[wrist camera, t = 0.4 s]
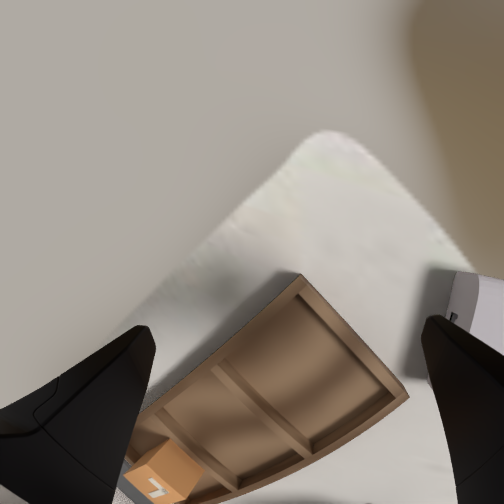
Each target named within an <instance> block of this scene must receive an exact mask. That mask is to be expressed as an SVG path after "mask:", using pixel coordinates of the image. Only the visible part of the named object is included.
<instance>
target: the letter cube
mask: <svg viewBox="0 0 504 504" xmlns="http://www.w3.org/2000/svg"><path fill="white" fill-rule="evenodd" d="M204 471H205V470H204V469H203V468H202V467H201V466H199V465H198V464H197V463H196V462H195V461H194V460H193V459H192V458H190V457H189V456H188V455H187V454H186V453H185V452H184V451H183V450H182V449H181V448H180V447H179V446H178V445H177V444H176V443H175V442H174V441H172V440H171V439H168V440H166V441H165V442H163V443H161V444H160V445H158V446H156V447H154V448H153V449H151V450H149V451H147V452H146V453H145V454H144V455H143V456H142V457H141V458H140V459H139V460H138V461H137V462H136V463H135V464H134V465H133V466H132V467H131V468H130V469H129V470H128V471H127V472H125V473H124V474H123V476H124V477H125V478H126V479H127V480H128V481H129V482H130V483H132V484H133V485H134V486H135V487H136V488H137V489H138V490H139V491H140V492H141V493H143V494H144V495H145V496H146V497H147V498H148V499H149V500H151V501H152V502H153V503H154V504H172V503H175V502H179V501H182V500H185V499H186V498H187V497H188V496H189V494H190V493H191V491H192V490H193V488H194V487H195V485H196V484H197V482H198V481H199V479H200V477H201V476H202V474H203V473H204Z"/></svg>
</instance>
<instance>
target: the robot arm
mask: <svg viewBox="0 0 504 504" xmlns="http://www.w3.org/2000/svg"><path fill="white" fill-rule="evenodd" d="M421 342H422V347H423V351H424V355H425V359H426V364H427V369H428V373H429V378H430V382H431V385H432V388H433V392H434V395H435V398H436V402H437V405H438V408H439V412H440V416H441V419H442V423H443V427H444V431H445V435H446V439H447V444H448V448H449V453H450V457H451V462H452V468H453V473H454V479H455V485H456V486H457V487H456V493H457V500H458V504H504V355H502V354H501V353H499V352H498V351H496V350H495V349H493V348H492V347H490V346H489V345H487V344H486V343H484V342H483V341H481V340H479V339H478V338H476V337H475V336H473V335H472V334H470V333H469V332H467V331H465V330H464V329H462V328H461V327H459V326H457V325H456V324H454V323H453V322H451V321H449V320H448V319H446V318H445V317H443V316H441V315H440V314H435V315H429V316H428V317H427V319H426V322H425V325H424V328H423V332H422V335H421ZM155 352H156V345H155V342H154V339H153V336H152V334H151V331H150V329H149V327H148V326H142V325H137V326H135V327H133V328H131V329H130V330H128V331H127V332H125V333H124V334H122V335H121V336H119V337H118V338H116V339H115V340H113V341H112V342H110V343H109V344H107V345H105V346H104V347H102V348H101V349H99V350H98V351H96V352H95V353H93V354H92V355H90V356H89V357H87V358H86V359H84V360H83V361H81V362H80V363H78V364H76V365H75V366H73V367H72V368H70V369H69V370H67V371H66V372H64V373H63V374H61V375H60V377H57V378H55V379H53V380H52V381H51V382H49V383H47V384H46V385H44V386H43V387H41V388H39V389H37V390H36V391H34V392H32V393H30V394H29V395H27V396H25V397H23V398H21V399H19V400H17V401H16V402H14V403H12V404H10V405H8V406H6V407H4V408H2V409H0V504H112V501H113V498H114V494H115V490H116V486H117V482H118V479H119V475H120V472H121V468H122V465H123V462H124V458H125V455H126V452H127V448H128V445H129V442H130V439H131V436H132V432H133V429H134V426H135V423H136V420H137V417H138V414H139V411H140V408H141V405H142V402H143V399H144V396H145V393H146V390H147V386H148V382H149V378H150V373H151V369H152V365H153V360H154V356H155Z"/></svg>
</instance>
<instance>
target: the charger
mask: <svg viewBox="0 0 504 504" xmlns="http://www.w3.org/2000/svg"><path fill="white" fill-rule="evenodd" d="M451 312H453V315H452V319H451V322H453V323H454V324H456V325H457V326H459V327H461V328H462V329H464V330H465V331H467V332H469V333H470V334H472V335H473V336H475V337H476V338H478V339H479V340H481V341H483V342H484V343H486V344H487V345H489V346H490V347H492V348H493V349H495V350H496V351H498V352H499V353H501V354H502V355H504V280H502V279H497V278H493V277H489V276H483V275H479V274H474V273H468V272H462V271H458V272H457V273H456V275H455V277H454V281H453V286H452V291H451V295H450V300H449V304H448V308H447V313H446V317H445V318H446V319H448V320H450V316H451ZM427 381H428V384H429V385H430V387H431V388H432V385H431V382H430V378H429V373H428V377H427ZM432 390H433V388H432Z"/></svg>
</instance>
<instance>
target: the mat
mask: <svg viewBox="0 0 504 504" xmlns="http://www.w3.org/2000/svg"><path fill="white" fill-rule="evenodd" d="M131 467H132V466H131V465H130V464H129V463H128V462H127V461H126V460H125V459H124V462H123V465H122V468H121V472H120V475H119V479H118V482H117V487H118V488H119V489H120V490H121V491H122V492H123V493H124V494H125V495H126V496H127V497H129V498H130V499H131V500H132V501H133V502H134V503H135V504H154V503H153V502H152V501H151V500H149V499H148V498H147V497H146V496H145V495H144V494H143V493H141V492H140V491H139V490H138V489H137V488H136V487H135V486H134V485H133V484H132V483H130V482H129V481H128V480H127V479H126V478H125V477H124V476H123V474H124V473H125V472H127V471H128V470H129V469H130V468H131Z"/></svg>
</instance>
